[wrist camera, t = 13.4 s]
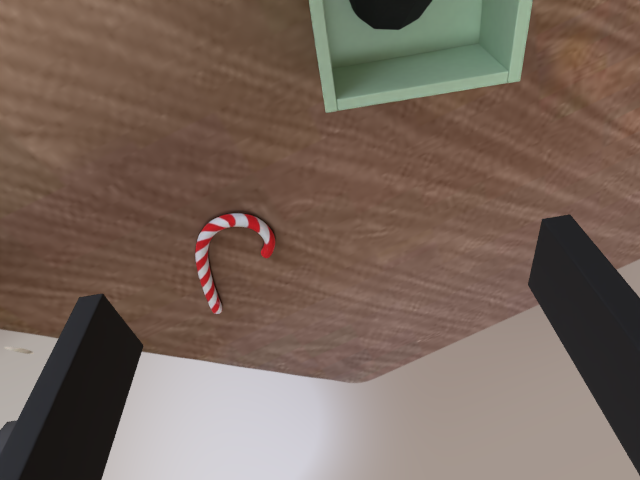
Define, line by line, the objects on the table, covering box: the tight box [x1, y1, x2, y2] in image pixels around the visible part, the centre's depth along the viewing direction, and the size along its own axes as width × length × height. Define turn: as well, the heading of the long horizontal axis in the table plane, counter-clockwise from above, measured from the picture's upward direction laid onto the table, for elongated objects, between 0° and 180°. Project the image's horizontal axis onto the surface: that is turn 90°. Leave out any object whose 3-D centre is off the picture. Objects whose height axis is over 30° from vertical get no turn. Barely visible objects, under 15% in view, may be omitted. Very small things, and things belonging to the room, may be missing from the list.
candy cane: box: [195, 213, 275, 314], centre depth 45 cm, size 8×1×15 cm
